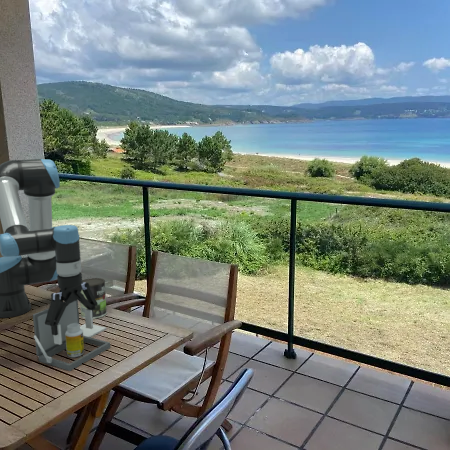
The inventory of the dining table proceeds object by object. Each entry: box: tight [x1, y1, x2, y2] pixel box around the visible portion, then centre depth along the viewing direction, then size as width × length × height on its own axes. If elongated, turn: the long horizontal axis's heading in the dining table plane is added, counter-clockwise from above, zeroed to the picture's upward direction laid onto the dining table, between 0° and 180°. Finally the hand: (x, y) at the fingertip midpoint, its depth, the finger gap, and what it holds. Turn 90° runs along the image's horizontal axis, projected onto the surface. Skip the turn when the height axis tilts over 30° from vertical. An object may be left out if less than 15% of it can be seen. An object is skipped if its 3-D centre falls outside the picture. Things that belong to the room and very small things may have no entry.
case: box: [32, 299, 111, 372], centre depth 146 cm, size 15×19×16 cm
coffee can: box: [79, 277, 108, 320], centre depth 180 cm, size 10×10×14 cm
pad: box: [80, 323, 107, 338], centre depth 165 cm, size 10×10×1 cm
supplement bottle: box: [65, 323, 85, 358], centre depth 146 cm, size 6×6×10 cm
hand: (74, 335), depth 146 cm, fingers open, 13 cm apart
